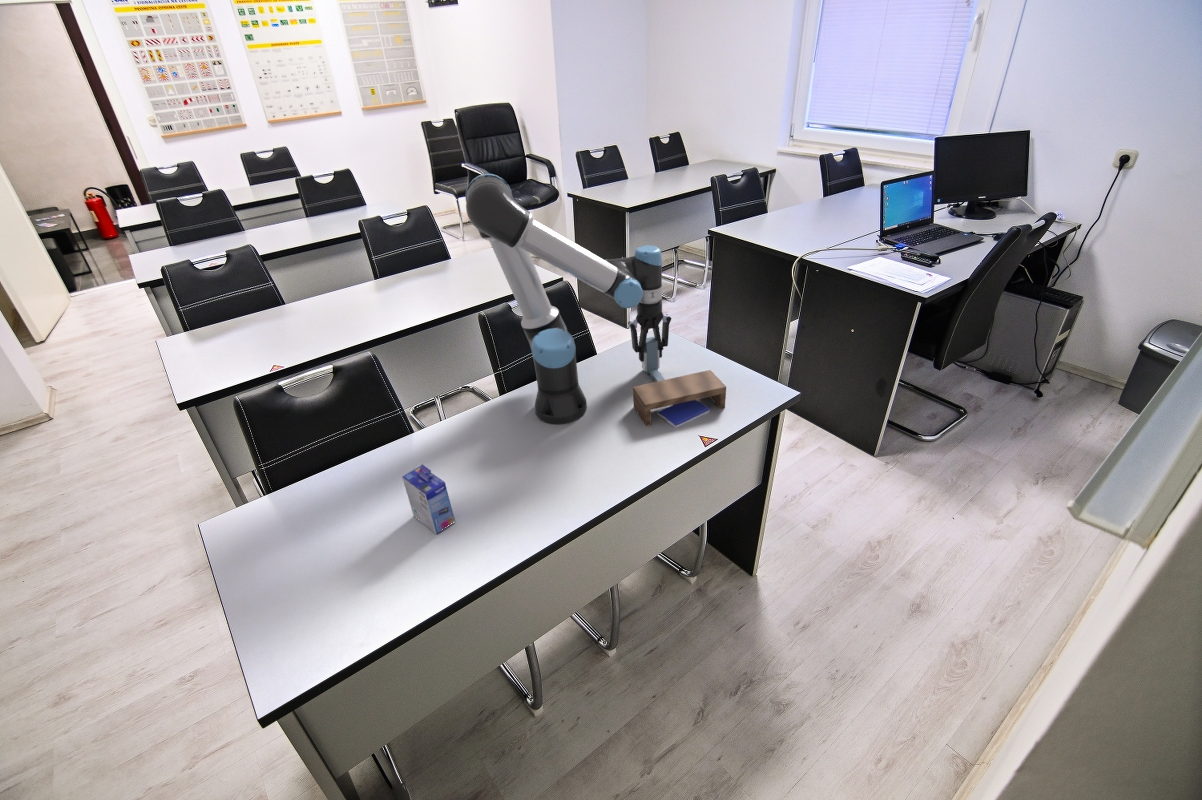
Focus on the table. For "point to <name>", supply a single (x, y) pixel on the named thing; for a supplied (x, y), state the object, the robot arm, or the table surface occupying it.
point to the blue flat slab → (683, 412)
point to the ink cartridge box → (428, 498)
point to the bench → (677, 392)
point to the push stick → (652, 359)
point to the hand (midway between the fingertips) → (650, 367)
